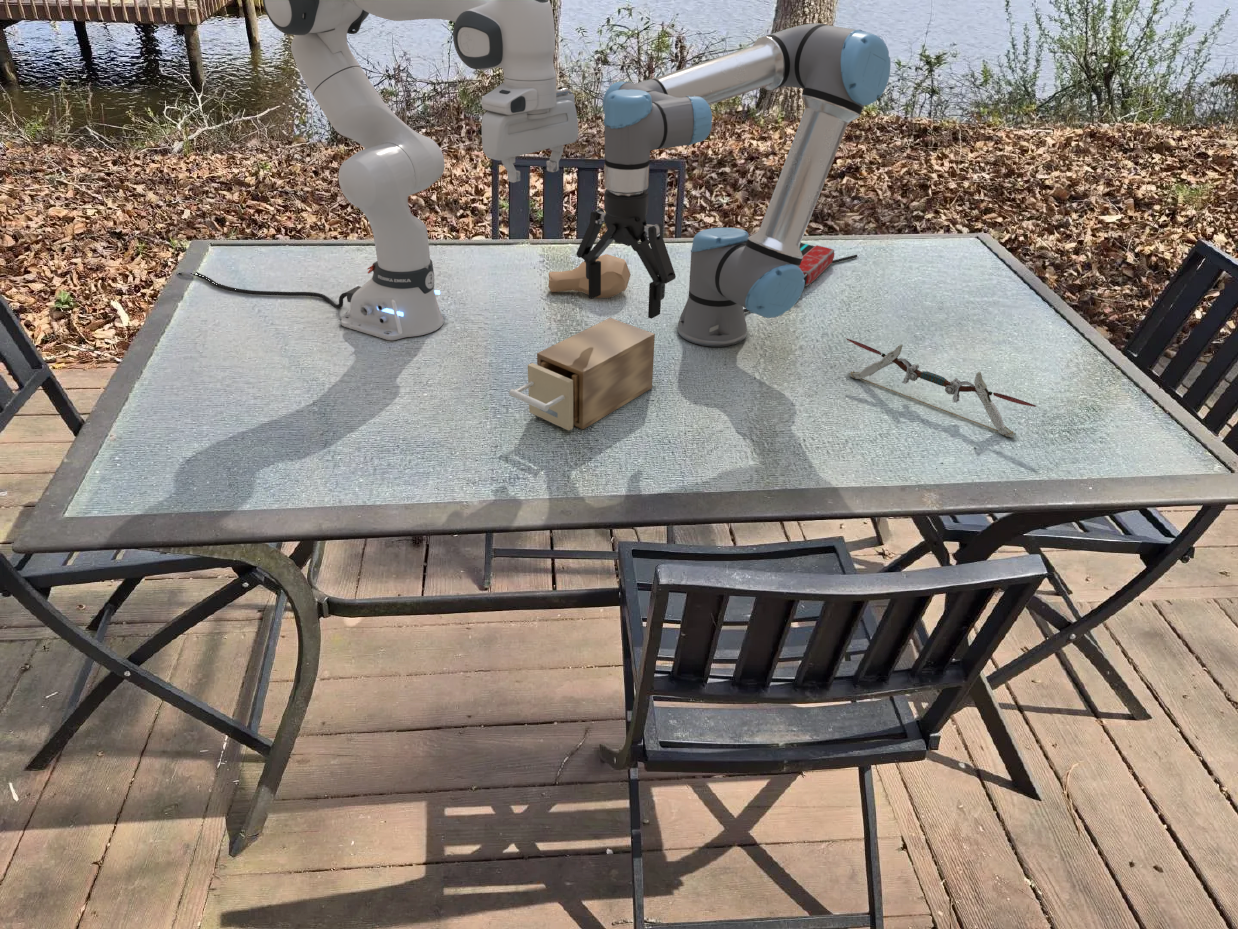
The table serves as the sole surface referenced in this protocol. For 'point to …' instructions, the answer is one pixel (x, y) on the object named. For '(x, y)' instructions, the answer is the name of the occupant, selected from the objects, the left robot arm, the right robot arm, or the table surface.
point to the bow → (950, 387)
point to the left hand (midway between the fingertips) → (533, 176)
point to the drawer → (551, 394)
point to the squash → (611, 279)
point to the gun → (814, 261)
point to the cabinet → (605, 366)
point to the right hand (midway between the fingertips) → (623, 306)
